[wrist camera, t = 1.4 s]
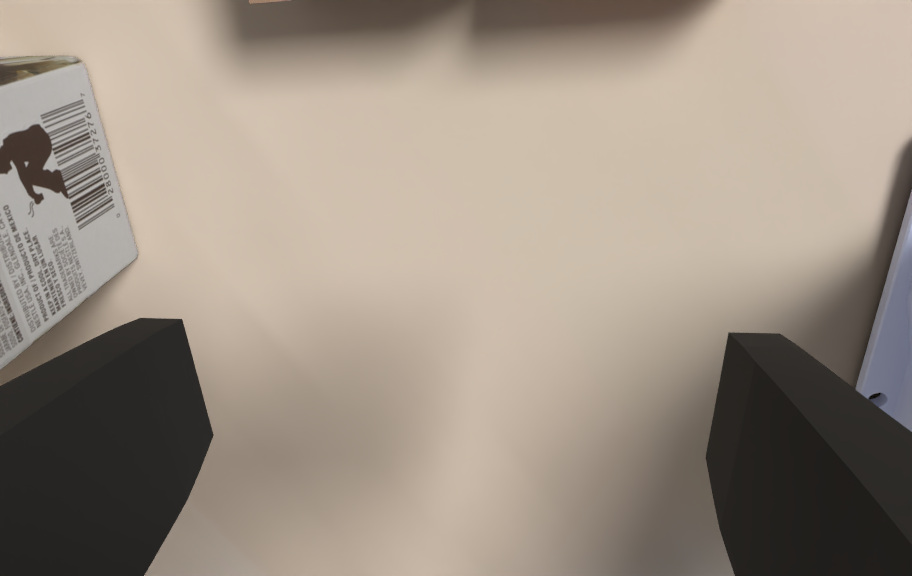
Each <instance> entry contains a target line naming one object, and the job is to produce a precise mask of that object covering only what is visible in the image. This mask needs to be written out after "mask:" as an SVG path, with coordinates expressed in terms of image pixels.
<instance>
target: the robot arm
mask: <svg viewBox="0 0 912 576" xmlns="http://www.w3.org/2000/svg"><path fill="white" fill-rule="evenodd" d="M875 393H881V394H880V396H878V397H877V398H875V399H868V398H869V397H870V396H871V395H873V394H875ZM212 438H213V432H212V428H211V425H210V421H209V417H208V413H207V410H206V406H205V402H204V399H203V395H202V391H201V387H200V384H199V380H198V376H197V373H196V369H195V365H194V361H193V358H192V354H191V350H190V347H189V343H188V339H187V336H186V332H185V328H184V324H183V321H182V319H155V318H139V319H137V320H134V321H132V322H129V323H126V324H124V325H122V326H119V327H117V328H115V329H113V330H110V331H108V332H106V333H104V334H102V335H100V336H98V337H96V338H94V339H92V340H90V341H87V342H85V343H83V344H82V345H80V346H78V347H76V348H74V349H72V350H70V351H68V352H66V353H64V354H62V355H60V356H58V357H56V358H54V359H52V360H50V361H48V362H46V363H44V364H42V365H40V366H39V367H37V368H35V369H33V370H31V371H29V372H27V373H25V374H23V375H21V376H19V377H17V378H15V379H13V380H11V381H9V382H7V383H6V384H4V385H2V386H0V576H144V575H145V573H146V571H147V569H148V568H149V566H150V564H151V563H152V561H153V559H154V558H155V556H156V554H157V552H158V551H159V549H160V547H161V545H162V544H163V542H164V540H165V538H166V537H167V535H168V533H169V531H170V530H171V528H172V526H173V524H174V523H175V521H176V519H177V517H178V516H179V514H180V512H181V510H182V508H183V507H184V505H185V503H186V501H187V499H188V497H189V494H190V492H191V490H192V488H193V485H194V483H195V481H196V478H197V476H198V474H199V471H200V469H201V466H202V464H203V461H204V458H205V456H206V453H207V451H208V448H209V445H210V443H211V440H212ZM706 461H707V466H708V472H709V477H710V482H711V488H712V493H713V498H714V503H715V508H716V513H717V518H718V523H719V527H720V531H721V534H722V537H723V541H724V544H725V547H726V550H727V553H728V556H729V559H730V562H731V565H732V568H733V571H734V574H735V576H912V191H911V194H910V198H909V201H908V205H907V208H906V212H905V215H904V219H903V222H902V226H901V229H900V233H899V237H898V240H897V244H896V247H895V251H894V254H893V258H892V261H891V265H890V268H889V272H888V275H887V279H886V282H885V286H884V289H883V293H882V297H881V300H880V304H879V307H878V311H877V314H876V318H875V321H874V325H873V328H872V332H871V335H870V339H869V342H868V346H867V349H866V353H865V356H864V360H863V364H862V367H861V371H860V374H859V378H858V381H857V385H856V388H855V389H854V388H853V387H851V386H850V385H849V384H847V383H846V382H845V381H844V380H842V379H841V378H840V377H838V376H837V375H836V374H834V373H833V372H832V371H830V370H829V369H828V368H827V367H825V366H824V365H823V364H821V363H820V362H819V361H817V360H816V359H815V358H813V357H812V356H811V355H809V354H808V353H807V352H805V351H804V350H803V349H801V348H800V347H799V346H797V345H796V344H794V343H793V342H791V341H790V340H788V339H787V338H785V337H784V336H782V335H781V334H767V333H729V334H728V339H727V345H726V350H725V355H724V361H723V366H722V372H721V377H720V383H719V388H718V393H717V399H716V404H715V410H714V415H713V421H712V426H711V431H710V437H709V442H708V448H707V453H706Z"/></svg>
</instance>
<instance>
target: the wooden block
mask: <svg viewBox="0 0 912 576" xmlns="http://www.w3.org/2000/svg"><path fill="white" fill-rule="evenodd" d="M278 1H290V0H249V4H254V3H266V2H278Z"/></svg>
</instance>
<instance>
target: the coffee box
mask: <svg viewBox="0 0 912 576" xmlns="http://www.w3.org/2000/svg"><path fill="white" fill-rule="evenodd" d="M137 256H138V250H137V247H136V243H135V240H134V236H133V233H132V229H131V226H130V222H129V219H128V215H127V212H126V208H125V204H124V201H123V197H122V194H121V190H120V186H119V183H118V179H117V175H116V172H115V168H114V165H113V161H112V158H111V154H110V151H109V147H108V143H107V140H106V136H105V133H104V130H103V126H102V123H101V120H100V116H99V112H98V108H97V104H96V101H95V98H94V94H93V91H92V87H91V84H90V80H89V77H88V73H87V69H86V67H85V64H84V63H83V62H82V61H81V60H80V59H78V58H76V57H74V56H26V57H0V370H1V369H2V368H3V367H5V366H6V365H7V364H8V363H10V362H11V361H12V360H13V359H15V358H16V357H17V356H18V355H19V354H21V353H22V352H23V351H24V350H26V349H27V348H28V347H30V346H31V345H32V343H34V342H35V341H36V340H38V339H39V338H40V337H41V336H42V335H43V334H45V333H46V332H48V331H49V330H50V329H51V328H52V327H53V326H55V325H56V324H57V323H58V322H60V321H61V320H62V319H63V318H64V317H65V316H67V315H68V314H69V313H71V312H72V311H73V310H74V309H75V308H77V307H78V306H79V305H81V304H82V303H83V302H84V301H85V300H86V299H87V298H89V297H90V296H91V295H93V294H94V293H95V292H96V291H97V290H98V289H99V288H101V287H102V286H103V285H104V284H105V283H107V282H108V281H109V280H110V279H112V278H113V277H114V276H115V275H117V274H118V273H119V272H120V271H122V270H123V269H124V268H125V267H126V266H128V265H129V264H130V263H131V262H133V261H134V260H135V259H136V258H137Z"/></svg>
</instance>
